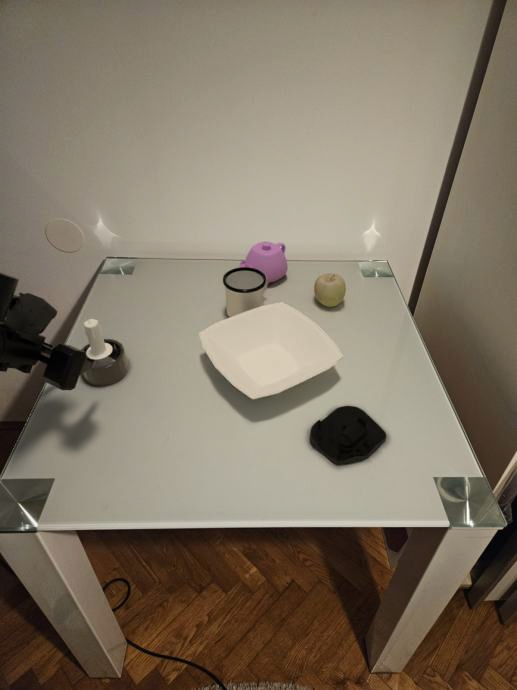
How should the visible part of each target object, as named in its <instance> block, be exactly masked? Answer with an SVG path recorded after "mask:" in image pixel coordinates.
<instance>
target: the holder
mask: <svg viewBox="0 0 517 690" xmlns="http://www.w3.org/2000/svg"><path fill="white" fill-rule="evenodd" d="M103 339H104V343H108V344H110V345H111V346H112V352H111V354H110V355H109V356H108V357H111V358H112V359H113V360H115V361H114V362H112V363H111V364H108V365H106V366H101V367H92V366H93V363H94V361H95V360H94V359H90V358H89V357H88V356H87V354H86V359H85V360H86V361H89V362H91V363H92V365H91V368H90V369H89V370H88V371H86V372H84V373H83V374H82V375H83V378H84V379H85V381H86V382H87V383H88V384H90V385H93V386H98V387H103V386H104V387H106V386H110V385H114V384H116V383H117V382H120V381H121V380H122V379H123V378H124V377H125V376H126V375H127V374H128V371H129V361H128V359H127V354H126V350H125V347H124V346H123V344H122V342H120V341H118V340H115V339H113V338H103ZM89 347H90V344H89V343H88V344H85V345H84V346H83V347H82V348H81V349H80V350H82V351H84V352H85V353H86V352H87V350H88V348H89Z"/></svg>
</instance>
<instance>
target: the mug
mask: <svg viewBox="0 0 517 690" xmlns="http://www.w3.org/2000/svg"><path fill="white" fill-rule="evenodd" d="M222 284H223V286H224V287H225V306H226V307H225V309H226V314H227V317H228V318H230V317H233V316H235V315H238V314H240V313H243V312H246V311H249V310H252V309H254V308H257V307H260V306H263V305H264V294H265V293H266V292H267V289H268V285H267V276H265V274H264V273H263V272H261V271H260V270H257V269H255V268H250V267H240V266H239V267H235V268H233V269H230V270H228V271H226V272H225V273H224V275H223V277H222Z"/></svg>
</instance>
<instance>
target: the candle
mask: <svg viewBox="0 0 517 690" xmlns="http://www.w3.org/2000/svg"><path fill="white" fill-rule="evenodd" d="M83 327H84V333H85V335H86V338H87V341H88V344H90V347H89V348H88V350H87V352H86V354H87V356H88V357H89V358H90V359H94V360H95V361H94V363H93V366H92V367H101V366H106V365H108V364H111V363H112V362H114V361H115V360H113V359H112V358H111V357H108V356H109V355H110V354H111V352H112V346H111V345H110V344H108V343H104V339H105V338H104V337H103V330H102V327H101V325H100V322H99V320H98V319H94V318H90V319H88V320H85V321H84V322H83Z"/></svg>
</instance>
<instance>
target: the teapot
mask: <svg viewBox="0 0 517 690" xmlns="http://www.w3.org/2000/svg"><path fill="white" fill-rule="evenodd" d="M285 253H286V245H285V243H283V242H277V243H274V242H271V241H260V242H258V243H254V245H253V246H251V247H250V249H249V251H248V253H247V254H246V256H245V260H242V261H240V262H239V267H250V268H255V269H257V270H260V271H261V272H263V273H264V274H265V276H267V286H269V285H270V283H273V282H276V281H278V280H280V279H282V278H283V277H284V276H285V275H286V274H287V272H288V261H287V258H286V255H285Z"/></svg>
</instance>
